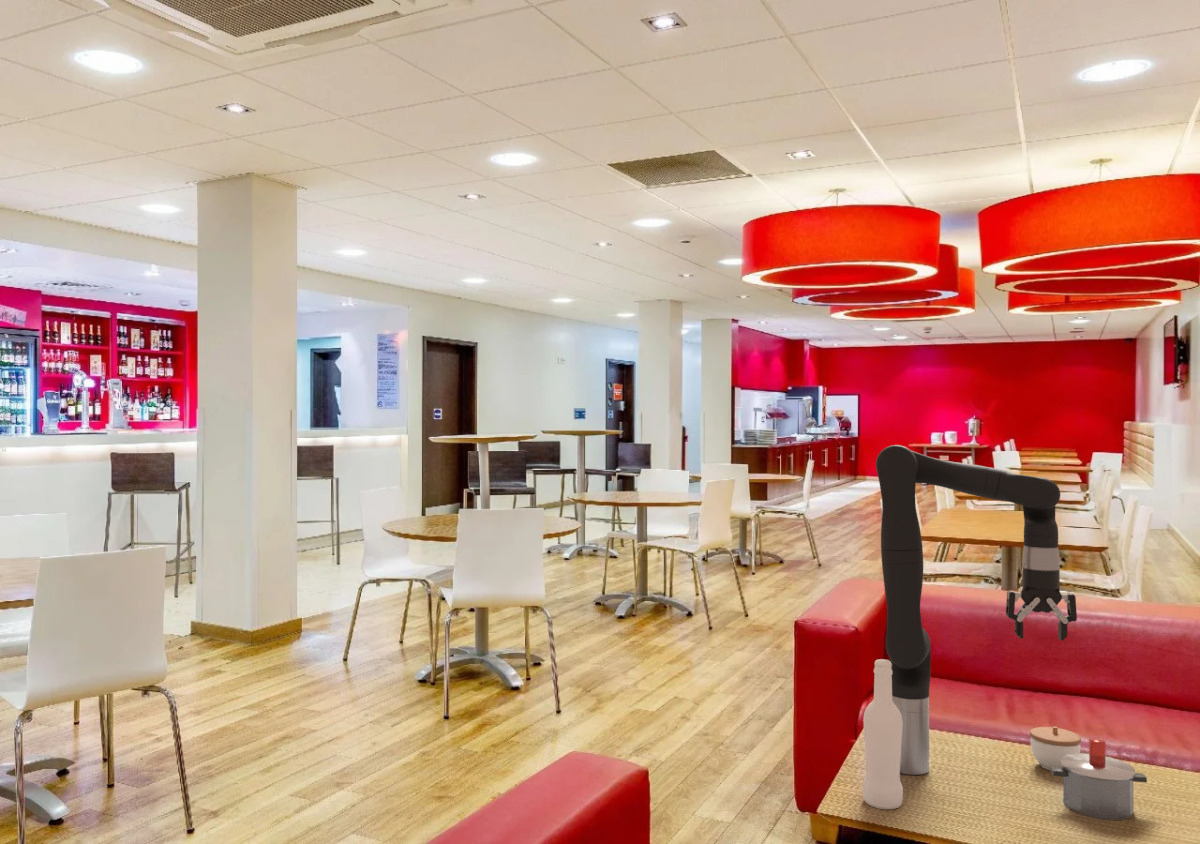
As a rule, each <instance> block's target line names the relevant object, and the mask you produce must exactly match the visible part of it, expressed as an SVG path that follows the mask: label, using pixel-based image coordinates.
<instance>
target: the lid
mask: <svg viewBox="0 0 1200 844" xmlns="http://www.w3.org/2000/svg"><path fill="white" fill-rule="evenodd" d="M1088 742H1089V743H1088V746H1089V747H1088V750H1089V751H1088V753H1081V752H1080V753H1078V754H1068V755H1065V756H1063V757H1062V758H1061V765H1062V766H1063V767H1064V768H1065V769H1066V770H1068V771H1070V772H1072V773H1075V774H1077V775H1080V776H1084V777H1088V778H1092V779H1098V780H1105V781H1125V780H1130V779H1132V778H1134V776H1135V773H1136V771H1135V768H1134V767H1133V766H1132V765H1131V764H1129V763H1127V762H1124V761H1123V760H1120V759H1116V758H1114V757H1109V756H1106V749H1107V748H1106V745H1107V744H1106V741H1105V740H1103V739H1101V738H1089V739H1088Z"/></svg>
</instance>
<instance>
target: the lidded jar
mask: <svg viewBox="0 0 1200 844" xmlns="http://www.w3.org/2000/svg"><path fill="white" fill-rule="evenodd" d="M1029 737H1030V746H1031V752H1032V756H1033V757H1034V759H1035V760H1036V762H1038V763H1039V764H1040V767H1042V768H1043V769H1045V770H1047V771H1050V767H1059V768H1063V766H1062V765H1061V758H1062V757H1063V756H1065V755H1068V754H1078V753H1081V743H1082V737H1081V736H1080V734H1078V733H1077V732H1073V731H1071V730H1069V729H1064V728H1059V727H1058V726H1052V727H1051V726H1039V727H1034V728H1032V729H1030V731H1029Z"/></svg>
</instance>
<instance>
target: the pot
mask: <svg viewBox="0 0 1200 844" xmlns="http://www.w3.org/2000/svg"><path fill="white" fill-rule="evenodd" d="M1049 771H1050V773H1051V775H1052V776H1055V777H1063V778H1062V779H1063V783H1062V784H1063V787H1062V788H1063V798H1062V799H1063V803H1064V804H1065V806H1066V807H1067V809H1070V810H1072V811H1074V812H1076V813H1078V814H1080V815H1083V816H1087V817H1091V818H1094V819H1097V820H1110V821H1111V820H1112V821H1119V820H1120V821H1121V820H1127V819H1130V818H1131V817H1132V815H1133V814H1134V782H1136V783H1148V782H1147V781H1148V777H1146V775H1145V774H1143V773H1142V772H1141V773H1140V772H1139V773H1138V772H1135V776H1134V778H1132V779H1130V780H1125V781H1105V780H1098V779H1092V778H1088V777H1084V776H1080V775H1077V774H1075V773H1072V772H1070V771H1068V770H1066V769H1065V768H1064V767H1063V768H1059V767H1050V770H1049Z"/></svg>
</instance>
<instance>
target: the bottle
mask: <svg viewBox="0 0 1200 844" xmlns="http://www.w3.org/2000/svg"><path fill="white" fill-rule="evenodd" d="M873 664H874V668H873V673H874V675H873V676H874V679H873V680H874V681H873V699H872V701H871V702H870V703H869V704H868V705H867V706H866V708H865V710H864V713H863V717H862V718H863V722H862V723H863V734H864V735H863V736H864V737H863V739H864V752H865V754H864V756H865V777H864V780H863V783H862V794H863V795H862V797H863V800H864V802H865V803H866V804H867V805H869V806H870V807H872V808H875V809H879V810H895V809H897V808H900V807H901V805H902V803H903V799H904V788H903V785H902V783H901V779H900V778H901V776H900V774H901V773H900V759H901V743H902V728H903V720H902V716H901V713H900V711H899V709H898V708H897V706H896V705H895V704H894V702H893V701H892V673H893V672H892V669H891V666H892V663H891V661H890V659H883V658H880V659H876V660H875V661H874V663H873Z"/></svg>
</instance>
